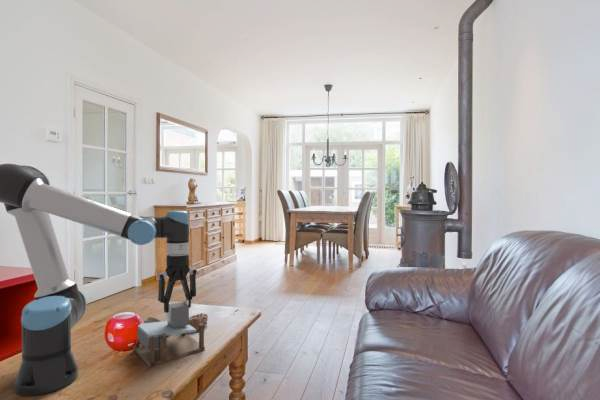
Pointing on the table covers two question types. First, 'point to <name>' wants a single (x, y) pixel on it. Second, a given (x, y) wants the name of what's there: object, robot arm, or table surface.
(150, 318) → the stone
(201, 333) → the frame
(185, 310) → the block
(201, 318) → the mineral specimen
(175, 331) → the trapdoor
